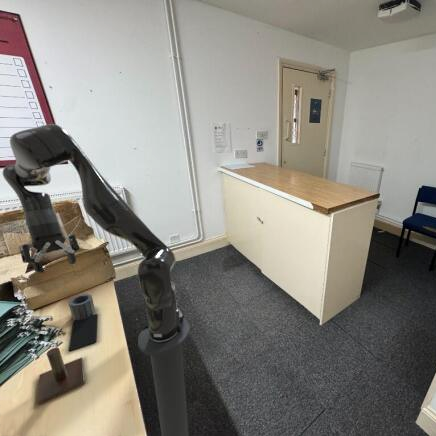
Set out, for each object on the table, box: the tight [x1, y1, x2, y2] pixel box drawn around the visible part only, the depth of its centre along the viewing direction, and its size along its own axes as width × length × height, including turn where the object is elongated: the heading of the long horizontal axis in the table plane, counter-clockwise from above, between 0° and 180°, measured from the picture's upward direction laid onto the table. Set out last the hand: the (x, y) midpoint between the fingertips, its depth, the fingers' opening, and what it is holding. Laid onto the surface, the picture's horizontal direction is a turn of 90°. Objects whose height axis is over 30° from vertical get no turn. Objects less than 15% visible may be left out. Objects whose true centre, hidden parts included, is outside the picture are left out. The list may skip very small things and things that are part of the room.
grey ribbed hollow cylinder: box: [68, 293, 96, 321], centre depth 87 cm, size 6×6×7 cm
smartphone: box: [68, 313, 98, 352], centre depth 81 cm, size 7×1×15 cm
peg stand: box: [37, 347, 85, 405], centre depth 64 cm, size 9×9×11 cm
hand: (57, 268), depth 81 cm, fingers open, 8 cm apart
